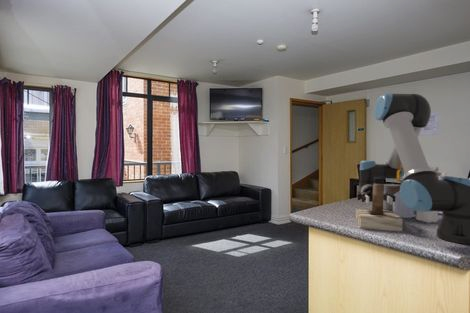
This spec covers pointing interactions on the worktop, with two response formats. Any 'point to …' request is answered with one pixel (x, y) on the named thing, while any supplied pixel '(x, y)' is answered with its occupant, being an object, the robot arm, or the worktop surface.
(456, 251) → the worktop surface
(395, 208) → the soap bottle
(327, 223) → the worktop surface
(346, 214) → the worktop surface
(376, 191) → the peg
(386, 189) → the pillar candle
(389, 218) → the socket block
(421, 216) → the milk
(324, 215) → the worktop surface
